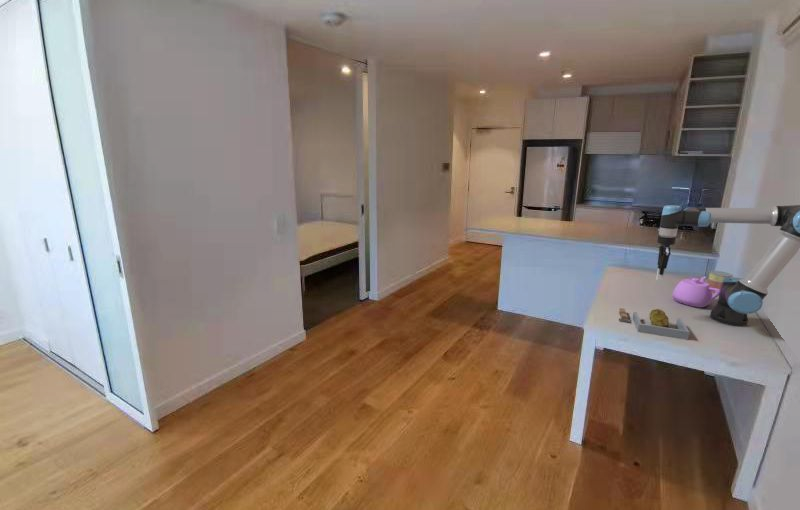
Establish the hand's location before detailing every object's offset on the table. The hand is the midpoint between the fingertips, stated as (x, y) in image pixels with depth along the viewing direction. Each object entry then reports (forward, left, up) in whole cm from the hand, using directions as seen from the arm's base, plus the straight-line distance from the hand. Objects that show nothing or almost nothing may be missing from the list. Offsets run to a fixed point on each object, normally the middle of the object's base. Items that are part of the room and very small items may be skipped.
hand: (659, 279), depth 197 cm
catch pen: (+1, +18, -20) cm, 27 cm away
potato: (+1, +16, -20) cm, 26 cm away
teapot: (-24, -30, -20) cm, 44 cm away
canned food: (-45, -60, -20) cm, 78 cm away
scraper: (+15, +10, -20) cm, 27 cm away
